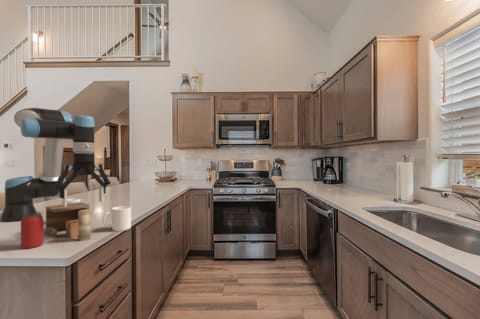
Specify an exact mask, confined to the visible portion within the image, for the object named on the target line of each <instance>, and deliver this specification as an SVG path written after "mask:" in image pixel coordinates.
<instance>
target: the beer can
mask: <svg viewBox="0 0 480 319" xmlns="http://www.w3.org/2000/svg"><path fill="white" fill-rule="evenodd" d="M43 244H44V217H43V215H42V213H37V214H28V215H24V216H23V218H22V220H21V221H20V247H21V248H22V249H34V248H37V247H40V246H42V245H43Z"/></svg>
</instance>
